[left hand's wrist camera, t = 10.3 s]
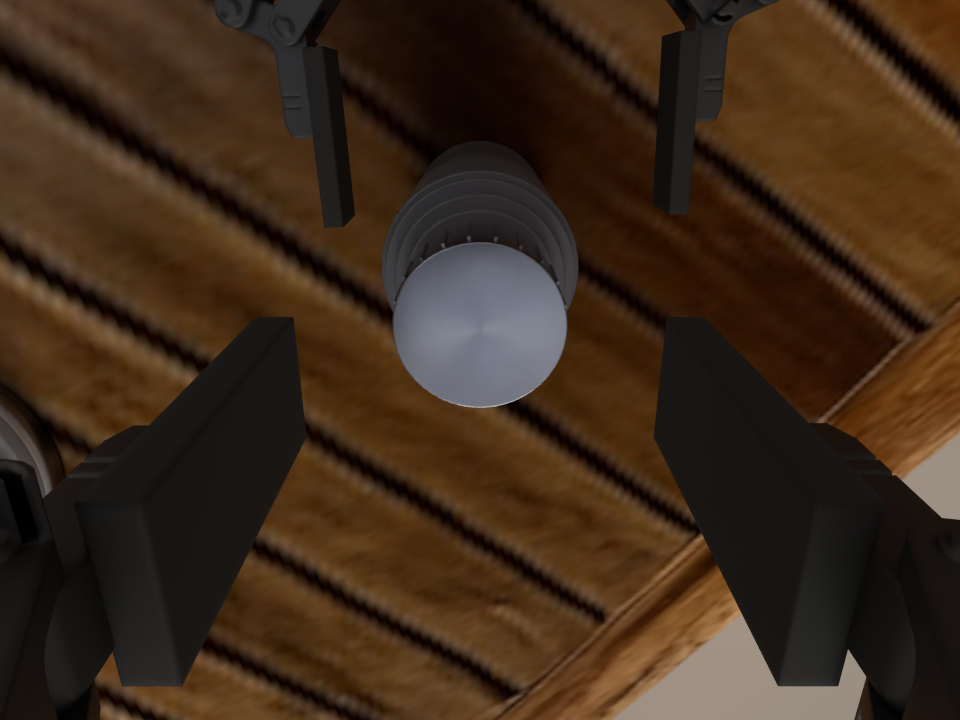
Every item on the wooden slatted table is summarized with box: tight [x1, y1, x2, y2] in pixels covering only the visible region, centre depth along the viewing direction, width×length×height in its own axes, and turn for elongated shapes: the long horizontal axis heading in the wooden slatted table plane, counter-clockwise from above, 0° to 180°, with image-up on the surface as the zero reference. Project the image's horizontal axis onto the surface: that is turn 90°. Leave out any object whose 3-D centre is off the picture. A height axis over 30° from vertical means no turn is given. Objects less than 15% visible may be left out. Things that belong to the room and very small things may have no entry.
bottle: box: [382, 141, 578, 312], centre depth 26 cm, size 6×6×18 cm
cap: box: [392, 223, 568, 408], centre depth 18 cm, size 4×4×2 cm
